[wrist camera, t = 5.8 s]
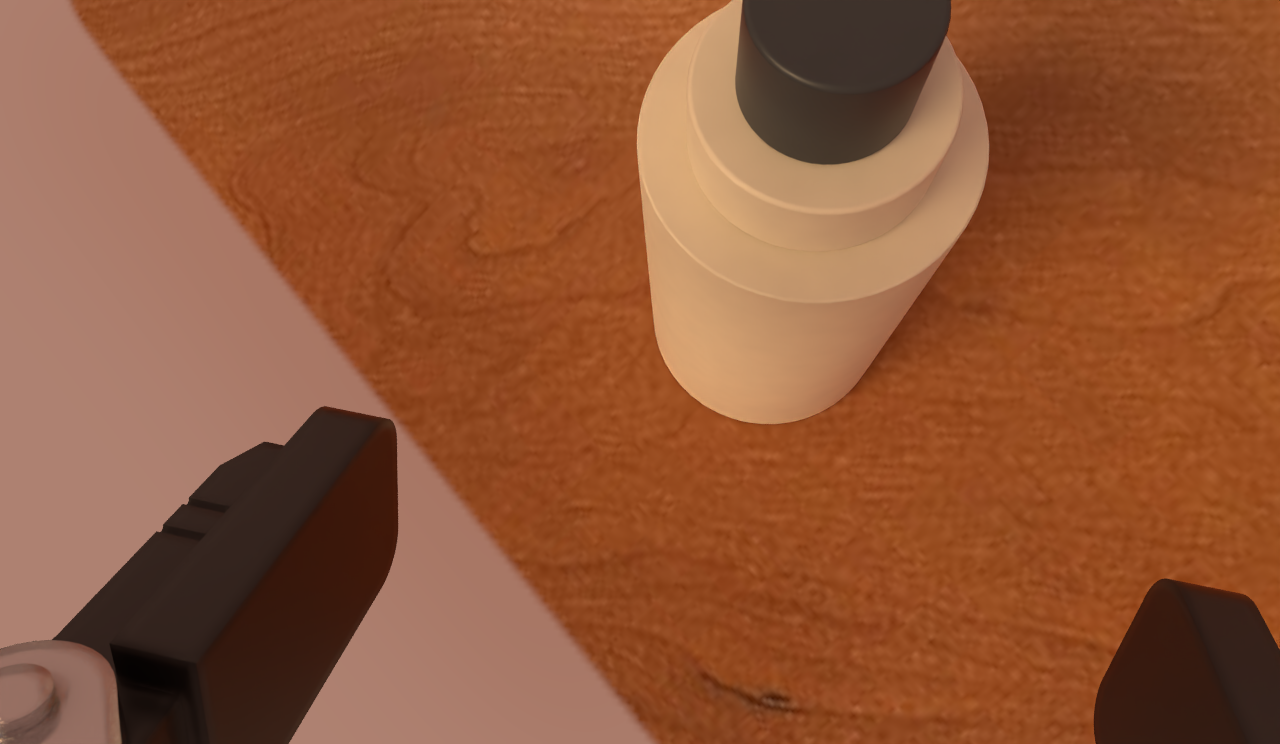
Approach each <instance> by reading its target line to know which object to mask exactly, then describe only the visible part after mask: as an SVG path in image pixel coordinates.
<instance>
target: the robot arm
mask: <svg viewBox="0 0 1280 744" xmlns="http://www.w3.org/2000/svg"><path fill="white" fill-rule="evenodd" d="M397 537H398V485H397V436H396V429H395V426H394V423H393V422H392V421H391V420H390V419H386V418H381V417H376V416H370V415H366V414H361V413H356V412H350V411H346V410H341V409H336V408H331V407H326V406H324V407H321V408H319V409H317V410H316V411H315V412H314V413H313V414H312V415H311V416H310V417H309V418H308V420H307V421H306V422H305V423H304V424H303V425H302V426H301V427H300V429H299V430H298V431H297V432H296V433H295V434H294V435H293V437H292V438H291V439H290V440H289V441H288V442H287V443H286V444H285V446H283V445H278V444H274V443H269V442H263V443H261V444H259V445H257V446H255V447H254V448H252V449H250V450H248V451H246V452H244V453H242V454H241V455H239V456H237V457H235V458H233V459H231V460H229V461H227V462H225V463H224V464H222V465H220V466H219V467H218V468H217V469H216V470H215V471H214V472H213V473H212V474H211V475H210V476H209V477H208V478H207V479H206V481H205V482H204V483H203V484H202V485H201V486H200V487H199V488H198V489H197V490H196V491H195V492H194V493H193V494H192V495H191V496H190V497H189V502H188V504H187V505H184V504H183V505H181V507H180V508H179V509H178V510H177V511H176V512H175V513H174V514H173V515H172V516H171V517H170V518H169V519H168V520H167V521H166V522H165V523H164V524H163V529H162V531H161V532H156V533H155V534H154V535H153V536H152V537H151V538H150V539H149V540H148V541H147V542H146V543H145V544H144V545H143V546H142V547H141V548H140V549H139V550H138V551H137V552H136V553H135V554H134V556H133V557H132V558H131V559H130V560H129V561H128V562H127V563H126V564H125V565H124V566H123V567H122V568H121V569H120V570H119V571H118V572H117V573H116V574H115V575H114V576H113V578H111V580H110V581H109V582H108V583H107V584H106V585H105V586H104V587H103V588H102V589H101V590H100V591H99V592H98V593H97V594H96V595H95V596H94V597H93V598H92V599H91V600H90V602H89V603H87V605H86V606H85V607H84V608H83V609H82V610H81V611H80V612H79V613H78V614H77V615H76V616H75V617H74V618H73V619H72V620H71V621H70V622H69V623H68V624H67V625H66V626H65V627H64V628H63V630H62V631H61V632H60V633H59V634H58V635H57V636H56V637H54V638H53V639H52V640H44V641H32V642H26V643H21V644H16V645H12V646H9V647H5V648H1V649H0V744H289V742H290V740H291V739H292V737H293V735H294V734H295V732H296V730H297V728H298V727H299V725H300V724H301V722H302V720H303V719H304V717H305V715H306V713H307V712H308V710H309V708H310V707H311V705H312V704H313V702H314V700H315V698H316V697H317V695H318V693H319V692H320V690H321V688H322V687H323V685H324V683H325V682H326V680H327V678H328V677H329V675H330V673H331V672H332V670H333V668H334V667H335V665H336V663H337V662H338V660H339V658H340V657H341V655H342V653H343V652H344V650H345V648H346V646H347V645H348V643H349V641H350V640H351V638H352V636H353V635H354V633H355V631H356V630H357V628H358V626H359V625H360V623H361V621H362V620H363V618H364V616H365V615H366V613H367V611H368V610H369V608H370V606H371V605H372V603H373V601H374V600H375V598H376V596H377V595H378V593H379V591H380V589H381V588H382V586H383V584H384V582H385V580H386V578H387V576H388V573H389V570H390V567H391V565H392V561H393V558H394V554H395V550H396V544H397ZM1094 734H1095V741H1096V744H1280V650H1279V648H1278V646H1277V644H1276V642H1275V640H1274V638H1273V637H1272V635H1271V633H1270V631H1269V629H1268V627H1267V625H1266V623H1265V621H1264V619H1263V618H1262V616H1261V614H1260V612H1259V610H1258V608H1257V607H1256V605H1255V603H1254V602H1253V601H1252V600H1251V599H1250V598H1249V597H1247V596H1246V595H1244V594H1240V593H1235V592H1230V591H1225V590H1220V589H1215V588H1210V587H1205V586H1200V585H1195V584H1191V583H1186V582H1181V581H1176V580H1171V579H1161V580H1159V581H1157V582H1156V583H1155V584H1154V585H1153V586H1152V587H1151V588H1150V590H1149V591H1148V593H1147V595H1146V596H1145V598H1144V600H1143V602H1142V604H1141V606H1140V608H1139V610H1138V612H1137V614H1136V616H1135V618H1134V620H1133V622H1132V623H1131V625H1130V627H1129V629H1128V631H1127V633H1126V635H1125V637H1124V639H1123V641H1122V643H1121V645H1120V647H1119V649H1118V650H1117V652H1116V654H1115V656H1114V658H1113V660H1112V662H1111V664H1110V666H1109V668H1108V670H1107V672H1106V674H1105V676H1104V677H1103V680H1102V682H1101V684H1100V687H1099V690H1098V693H1097V698H1096V703H1095V711H1094Z"/></svg>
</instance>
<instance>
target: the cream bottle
mask: <svg viewBox="0 0 1280 744" xmlns="http://www.w3.org/2000/svg"><path fill="white" fill-rule="evenodd" d="M950 18H951V0H732V1H731V2H730V3H729V4H728V5H726V6H725V7H723V8H722V9H720V10H718V11H716V12H714V13H712V14H711V15H709V16H708V17H706V18H705V19H704V20H702V21H701V22H699V23H698V24H696V25H695V26H694V27H693V28H692V29H691V30H689V31H688V32H687V33H686V34H685V35H684V36H683V37H682V38H681V39H680V40H679V41H678V42H677V43H676V44H675V45H674V47H673V48H672V49H671V50H670V51H669V52H668V54H667V55H666V56H665V58H664V59H663V61H662V62H661V64H660V65H659V67H658V68H657V70H656V72H655V73H654V75H653V78H652V80H651V82H650V84H649V86H648V88H647V90H646V93H645V97H644V100H643V103H642V106H641V110H640V116H639V122H638V128H637V157H638V167H639V177H640V187H641V197H642V208H643V218H644V228H645V238H646V248H647V259H648V269H649V279H650V289H651V299H652V309H653V320H654V328H655V335H656V339H657V343H658V346H659V350H660V352H661V354H662V357H663V359H664V361H665V363H666V365H667V366H668V368H669V370H670V372H671V373H672V375H673V376H674V377H675V379H676V380H677V381H678V382H679V384H680V385H681V386H682V387H683V388H684V389H685V390H686V391H687V392H688V393H689V394H690V395H691V396H692V397H694V398H695V399H696V400H698V401H699V402H700V403H702V404H703V405H705V406H706V407H708V408H710V409H712V410H714V411H715V412H717V413H720V414H722V415H725V416H727V417H730V418H732V419H736V420H740V421H744V422H750V423H758V424H780V423H788V422H794V421H797V420H801V419H805V418H808V417H810V416H813V415H815V414H818V413H820V412H822V411H824V410H825V409H827V408H829V407H831V406H832V405H834V404H835V403H836V402H838V401H839V400H840V399H842V398H843V397H844V396H845V395H846V394H847V393H848V392H849V391H850V390H851V389H852V388H853V387H854V386H855V385H856V384H857V382H858V381H859V380H860V378H861V377H862V376H863V374H864V373H865V371H866V370H867V369H868V367H869V366H870V364H871V363H872V361H873V360H874V359H875V357H876V356H877V354H878V353H879V351H880V350H881V349H882V347H883V346H884V344H885V343H886V341H887V340H888V339H889V337H890V336H891V334H892V333H893V331H894V330H895V329H896V327H897V326H898V324H899V323H900V321H901V320H902V318H903V317H904V316H905V314H906V313H907V311H908V310H909V308H910V307H911V306H912V304H913V303H914V301H915V300H916V298H917V297H918V296H919V294H920V293H921V291H922V290H923V288H924V287H925V286H926V284H927V283H928V281H929V280H930V278H931V277H932V276H933V274H934V273H935V271H936V270H937V268H938V267H939V265H940V264H941V263H942V261H943V260H944V258H945V257H946V255H947V254H948V253H949V251H950V250H951V248H952V247H953V245H954V244H955V243H956V241H957V240H958V238H959V237H960V235H961V234H962V233H963V231H964V230H965V228H966V227H967V225H968V223H969V221H970V219H971V218H972V216H973V214H974V212H975V210H976V208H977V206H978V203H979V200H980V198H981V195H982V192H983V189H984V186H985V181H986V176H987V171H988V163H989V137H988V126H987V122H986V118H985V113H984V109H983V105H982V102H981V100H980V97H979V95H978V92H977V90H976V87H975V85H974V83H973V81H972V79H971V78H970V76H969V74H968V72H967V71H966V69H965V67H964V66H963V64H962V63H961V62H960V60H959V59H958V58H957V56H956V54H955V52H954V49H953V47H952V45H951V43H950V41H949V39H948V38H947V36H946V34H947V31H948V27H949V23H950Z"/></svg>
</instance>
